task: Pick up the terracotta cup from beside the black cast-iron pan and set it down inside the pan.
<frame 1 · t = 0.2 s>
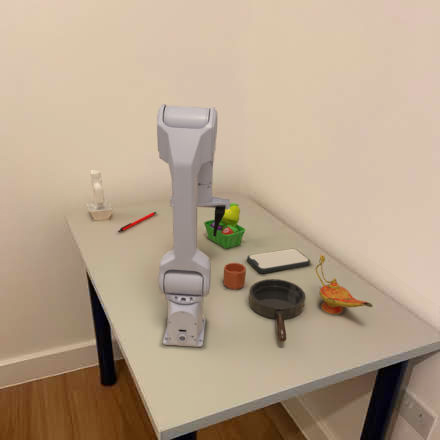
hand: (199, 234, 112), 10 cm above the table, tool pointing down, fingers open, 7 cm apart
magic lamp: (336, 312, 102), on the table
pan: (275, 304, 104), on the table
pen: (138, 223, 141), on the table
terracotta cup: (233, 284, 111), on the table
pan handle: (280, 325, 93), point 2 cm above the table
phone case: (278, 263, 121), on the table
figurine: (100, 217, 144), on the table
fruit basket: (225, 241, 132), on the table
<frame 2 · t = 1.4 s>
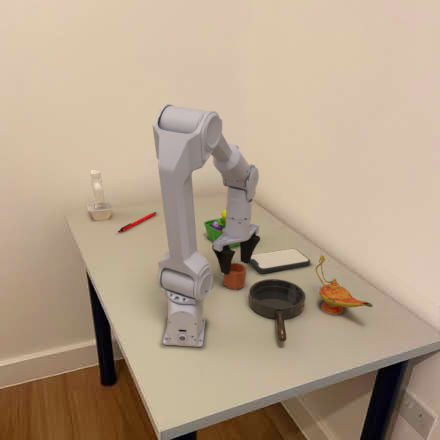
hand: (235, 267, 108), 5 cm above the table, tool pointing down, fingers open, 7 cm apart
nothing on the table moved.
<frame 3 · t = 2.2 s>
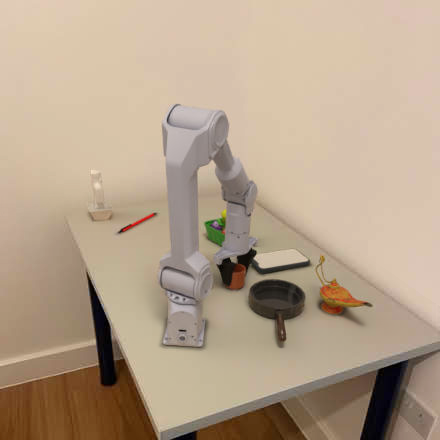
hand: (234, 279, 110), 1 cm above the table, tool pointing down, fingers closed on terracotta cup, 5 cm apart
terracotta cup: (233, 284, 111), on the table, touching gripper
everything else where it was.
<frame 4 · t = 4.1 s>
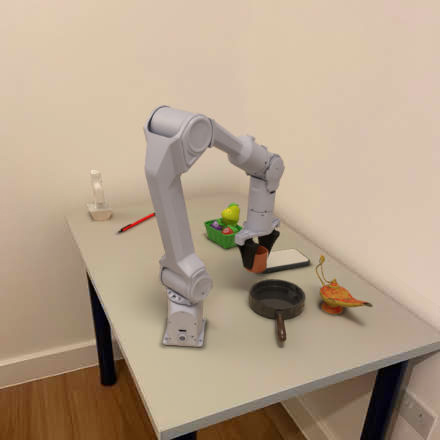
hand: (255, 263, 103), 8 cm above the table, tool pointing down, fingers closed on terracotta cup, 5 cm apart
terracotta cup: (254, 268, 104), point 7 cm above the table, touching gripper
everything else where it was.
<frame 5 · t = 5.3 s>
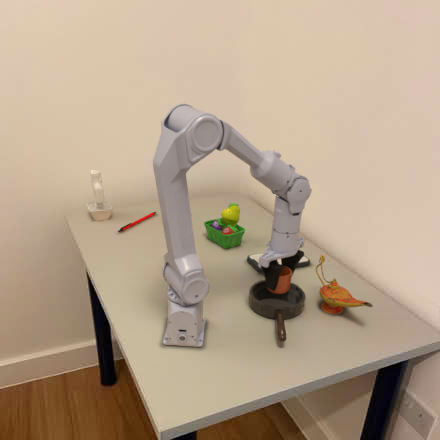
hand: (278, 283, 101), 6 cm above the table, tool pointing down, fingers closed on terracotta cup, 5 cm apart
terracotta cup: (277, 289, 101), point 4 cm above the table, touching gripper
everything else where it was.
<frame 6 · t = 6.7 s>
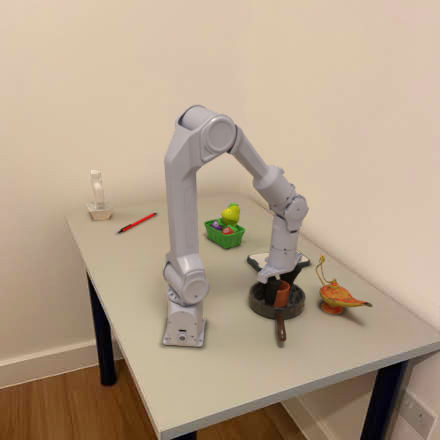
hand: (276, 297, 103), 2 cm above the table, tool pointing down, fingers closed on terracotta cup, 5 cm apart
terracotta cup: (276, 302, 103), resting on pan, touching gripper
everything else where it was.
when the fingers open (2 cm above the table, at t = 6.9 s): terracotta cup stays where it is, resting on pan.
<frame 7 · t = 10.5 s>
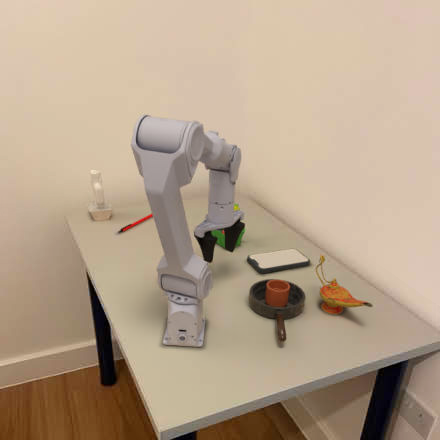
hand: (218, 255, 103), 9 cm above the table, tool pointing down, fingers open, 7 cm apart
terracotta cup: (276, 302, 103), resting on pan
everything else where it was.
at the end: terracotta cup 0.0 cm off-centre in the pan, point 0.5 cm above the pan's base; terracotta cup tilted 0°; the gripper is holding nothing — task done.
